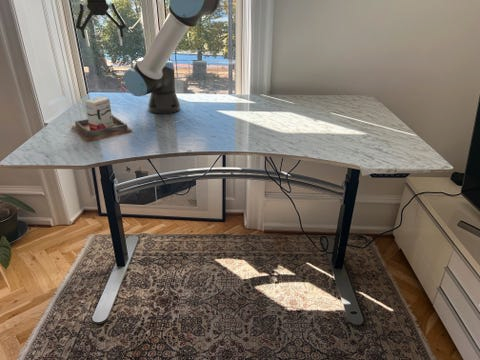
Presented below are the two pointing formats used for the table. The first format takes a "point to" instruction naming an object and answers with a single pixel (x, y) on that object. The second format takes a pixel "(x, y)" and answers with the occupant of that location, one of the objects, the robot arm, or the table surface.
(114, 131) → the tray
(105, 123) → the ink box
